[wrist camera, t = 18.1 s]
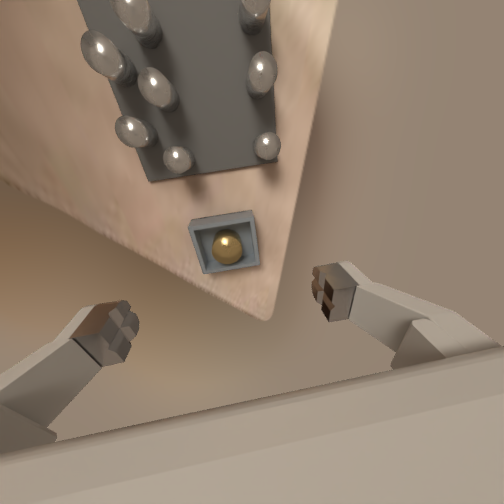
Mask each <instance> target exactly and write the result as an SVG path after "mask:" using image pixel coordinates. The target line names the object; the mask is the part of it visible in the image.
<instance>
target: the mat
mask: <svg viewBox="0 0 504 504" xmlns="http://www.w3.org/2000/svg"><path fill="white" fill-rule="evenodd" d="M77 1H78V4H79V6H80V9H81V11H82V14H83V16H84V19H85V22H86V24H87V27H88V29H89V30H95V31H98V32H100V33H101V34H103V35H104V36H105V37H107V38H108V39H109V40H110V41H111V42H112V43H113V44H114V45H116V46H117V47H118V48H119V49H120V50H121V51H122V52H124V53H125V54H126V55H127V56H128V57H129V58H130V59H131V60H132V62H133V63H134V65H135V67H136V70H137V80H136V83H135V84H134V85H133V86H131V87H124V86H122V85H120V84H118V83H116V82H114V81H113V80H111V79H109V78H108V80H109V82H110V85H111V88H112V90H113V93H114V95H115V98H116V100H117V103H118V105H119V108H120V110H121V113H122V115H123V116H130V117H134V118H137V119H140V120H144V121H147V122H149V123H151V124H152V125H153V126H154V128H155V129H156V131H157V134H158V141H157V143H156V144H155V145H154V146H152V147H135V148H136V151H137V154H138V156H139V159H140V161H141V164H142V166H143V169H144V171H145V174H146V176H147V179H148V181H156V180H162V179H169V178H175V177H182V176H188V175H195V174H201V173H207V172H214V171H220V170H227V169H233V168H240V167H246V166H252V165H259V164H265V163H272V162H278V160H277V156H276V157H275V158H273V159H271V160H266V159H263V158H260V157H258V156H257V155H256V154H255V153H254V151H253V142H254V140H255V138H256V137H257V136H258V135H261V134H263V133H266V132H273V133H275V134H276V123H275V104H274V86H273V85H272V87H271V88H270V89H269V91H268V92H267V94H266V95H265V96H264V97H263V98H261V99H255V98H253V97H251V96H250V95H249V93H248V91H247V89H246V78H247V74H248V70H249V66H250V63H251V60H252V58H253V57H254V55H255V54H257V53H258V52H261V51H266V52H268V53H270V54H271V55H272V49H271V31H270V12H269V8H268V11H267V15H266V18H265V22H264V25H263V27H262V29H261V31H260V32H259V33H257V34H256V35H249V34H247V33H245V32H244V31H243V29H242V28H241V26H240V23H239V19H238V7H239V0H147V1H148V3H149V5H150V6H151V8H152V10H153V12H154V14H155V15H156V17H157V19H158V21H159V23H160V25H161V29H162V40H161V43H160V45H159V46H158V47H157V48H155V49H149V48H146V47H144V46H143V45H142V44H141V43H140V42H139V41H138V40H137V39H136V37H135V36H134V35H133V34H132V33H131V32H130V31H129V29H128V28H127V27H126V26H125V25H124V24H123V22H122V21H121V20H120V19H119V18H118V17H117V15H116V14H115V12H114V11H113V9H112V6H111V4H110V0H77ZM146 67H153V68H155V69H157V70H159V71H160V72H161V73H162V74H163V75H164V76H165V77H166V78H167V79H168V81H169V82H170V83H171V84H172V85H173V86H174V87H175V88H176V90H177V92H178V95H179V105H178V107H177V109H176V110H174V111H172V112H167V111H164V110H162V109H160V108H159V107H157V106H155V105H153V104H151V103H149V102H148V101H147V100H146V99H145V98H144V97H143V96H142V94H141V92H140V90H139V87H138V76H139V73H140V72H141V70H142V69H144V68H146ZM173 146H184V147H187V148H189V149H190V150H191V151H192V152H193V154H194V157H195V163H194V165H193V167H192V168H190V169H189V170H187V171H185V172H183V173H181V174H176V173H173V172H171V171H170V170H169V169H168V168H167V167H166V166H165V164H164V161H163V155H164V152H165V150H166V149H167V148H169V147H173Z"/></svg>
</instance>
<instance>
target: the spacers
mask: <svg viewBox="0 0 504 504" xmlns="http://www.w3.org/2000/svg"><path fill="white" fill-rule="evenodd" d="M270 1H271V0H239V7H238V19H239V23H240V26H241V28H242V29H243V31H244V32H245V33H247V34H249V35H256V34H257V33H259V32H260V31H261V29H262V27H263V25H264V22H265V18H266V15H267V11H268V8H269V4H270ZM110 4H111V6H112V9H113V11H114V12H115V14H116V15H117V17H118V18H119V19H120V20H121V21H122V22H123V24H124V25H125V26H126V27H127V28H128V29H129V31H130V32H131V33H132V34H133V35H134V36H135V37H136V39H137V40H138V41H139V42H140V43H141V44H142V45H143V46H144V47H146V48H149V49H155V48H157V47H158V46H159V45H160V43H161V40H162V29H161V25H160V23H159V21H158V19H157V17H156V15H155V14H154V12H153V10H152V8H151V6H150V5H149V3H148V1H147V0H110ZM81 50H82V54H83V56H84V58H85V60H86V62H87V63H88V64H89V65H90V67H91V68H92V69H94V70H95V71H96V72H98V73H100V74H102V75H104V76H105V77H107V78H109V79H111V80H113V81H114V82H116V83H118V84H120V85H122V86H124V87H131V86H133V85H134V84H135V83H136V80H137V70H136V67H135V65H134V63H133V62H132V60H131V59H130V58H129V57H128V56H127V55H126V54H125V53H124V52H122V51H121V50H120V49H119V48H118V47H117V46H116V45H114V44H113V43H112V42H111V41H110V40H109V39H108V38H107V37H105V36H104V35H103V34H101V33H100V32H98V31H95V30H89V31H86V32H85V33H84V34H83V36H82V38H81ZM276 77H277V64H276V61H275V59H274V57H273V56H272V55H271V54H270V53H268V52H266V51H261V52H258V53H257V54H255V55H254V57H253V58H252V60H251V63H250V66H249V70H248V74H247V78H246V89H247V91H248V93H249V95H250V96H251V97H253V98H255V99H261V98H263V97H264V96H265V95H266V94H267V92H268V91H269V89H270V88H271V87H272V85H273V84H274V82H275V80H276ZM138 87H139V90H140V92H141V94H142V96H143V97H144V98H145V99H146V100H147V101H148V102H149V103H151V104H153V105H155V106H157V107H159V108H160V109H162V110H164V111H167V112H172V111H174V110H176V109H177V107H178V105H179V95H178V92H177V90H176V88H175V87H174V86H173V85H172V84H171V83H170V82H169V81H168V79H167V78H166V77H165V76H164V75H163V74H162V73H161V72H160V71H159V70H157V69H155V68H153V67H146V68H144V69H142V70H141V72H140V73H139V76H138ZM115 131H116V134H117V136H118V138H119V139H120V140H121V141H122V142H123V143H124V144H125V145H127V146H129V147H152V146H154V145H155V144H156V143H157V141H158V134H157V131H156V129H155V128H154V126H153V125H152V124H151V123H149V122H147V121H144V120H140V119H137V118H134V117H130V116H121V117H119V118H118V119H117V121H116V123H115ZM280 148H281V142H280V139H279V137H278V136H277V135H276V134H275V133H273V132H266V133H263V134H261V135H258V136H257V137H256V138H255V140H254V142H253V151H254V153H255V154H256V155H257V156H258V157H260V158H263V159H266V160H271V159H273V158H275V157H276V156H277V155H278V154H279V152H280ZM163 161H164V164H165V166H166V167H167V168H168V169H169V170H170V171H171V172H173V173H176V174H181V173H183V172H185V171H187V170H189V169H190V168H192V167H193V165H194V163H195V157H194V154H193V152H192V151H191V150H190V149H189V148H187V147H184V146H173V147H169V148H167V149H166V150H165V152H164V155H163Z"/></svg>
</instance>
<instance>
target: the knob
mask: <svg viewBox="0 0 504 504" xmlns="http://www.w3.org/2000/svg"><path fill="white" fill-rule="evenodd" d="M212 255H213V257H214V259H215V260H216V261H218V262H220V263H222V264H232V263H234V262H236V261H238V260H239V259H240V257H241V255H242V244H241V238H240V236H239V234H238V233H237V232H235V231H233V230H230V229H224V230H221V231H219V232H217V233H216V234H215V236H214V239H213V244H212Z"/></svg>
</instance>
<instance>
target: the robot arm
mask: <svg viewBox="0 0 504 504" xmlns="http://www.w3.org/2000/svg"><path fill="white" fill-rule="evenodd" d="M312 274H313V276H314V277H315V279H314V280H313V281H312V293H313V296H314V298H315V300H316V301H317V302H318V303H320V304H321V305H322V309H321V310H322V311H323V313H324V315H325V317H326V318H327V320H328V322H333V321H339V320H345V319H349V321H351V322H352V323H354V324H356V325H357V326H358V327H360V328H361V329H363V330H364V331H366V332H367V333H369V334H370V335H371V336H373V337H374V338H376V339H377V340H379V341H380V342H382V343H383V344H385V345H386V346H388V347H389V348H390V349H392V350H394V351H395V352H396V354H395V356H394V358H393V360H392V362H391V367H392V369H393V370H389V371H385V372H380V373H375V374H371V375H366V376H361V377H357V378H352V379H347V380H342V381H338V382H333V383H329V384H324V385H319V386H315V387H310V388H306V389H300V390H297V391H291V392H287V393H282V394H277V395H272V396H268V397H263V398H258V399H254V400H249V401H244V402H240V403H235V404H231V405H226V406H221V407H216V408H212V409H207V410H202V411H198V412H193V413H188V414H183V415H179V416H174V417H169V418H165V419H160V420H155V421H151V422H146V423H142V424H137V425H132V426H127V427H123V428H118V429H114V430H110V431H104V432H99V433H95V434H90V435H86V436H81V437H76V438H72V439H67V440H62V441H58V442H55V440H56V439H57V434H56V433H55V432H53V431H52V430H50V429H48V428H47V427H48V426H49V424H50V423H51V422H52V421H53V420H54V419H55V418H56V417H57V416H58V415H59V414H60V413H61V412H62V410H63V409H64V408H65V407H66V406H67V405H68V404H69V403H70V402H71V401H72V400H73V398H74V397H75V396H76V395H77V394H78V393H79V392H80V391H81V390H82V389H83V388H84V387H85V386H86V385H87V384H88V382H89V381H90V380H91V379H92V378H93V377H94V376H95V375H96V374H97V373H98V372H99V371H100V370H101V367H103V366H108V365H113V364H117V363H121V362H124V361H125V359H126V357H127V355H128V353H129V350H130V348H131V343H130V341H131V340H132V339H133V338H134V337H135V336H136V335H137V332H138V330H139V319H138V317H137V315H136V314H135V313H133V312H131V311H130V308H131V306H130V305H129V303H128V302H127V301H124V300H121V301H115V302H108V303H102V304H96V305H90V306H85V307H83V308H81V309H80V311H79V312H78V313H77V314H76V315H75V316H74V318H73V319H72V320H71V321H70V322H69V323H68V324H67V326H66V327H65V328H64V329H63V330H62V331H61V333H60V334H59V335H58V336H57V337H56V338H55V340H54V341H53V342H51V343H47V344H46V345H44V346H43V347H41V348H40V349H38V350H37V351H35V352H34V353H32V354H31V355H29V356H28V357H26V358H25V359H23V360H22V361H20V362H19V363H17V364H16V365H14V366H13V367H11V368H10V369H8V370H7V371H5V372H4V373H2V374H1V375H0V504H504V346H501V345H500V344H498V343H497V342H495V341H494V340H493V339H491V338H490V337H489V336H487V335H486V334H484V333H483V332H482V331H480V330H479V329H478V328H476V327H475V326H474V325H472V324H471V323H469V322H468V321H467V320H465V319H464V318H463V317H461V316H460V315H458V314H457V313H456V312H454V311H452V310H449V309H446V308H444V307H441V306H438V305H436V304H433V303H430V302H428V301H425V300H422V299H419V298H417V297H414V296H412V295H409V294H406V293H404V292H401V291H398V290H396V289H393V288H390V287H388V286H385V285H382V284H380V283H373V282H371V281H370V280H369V279H368V278H367V277H366V276H365V275H364V274H363V273H362V272H361V271H359V270H358V269H357V268H356V267H355V266H354V265H353V264H352V263H351V262H350V261H347V260H346V261H341V262H336V263H332V264H327V265H321V266H316V267H314V268H313V272H312Z"/></svg>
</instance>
